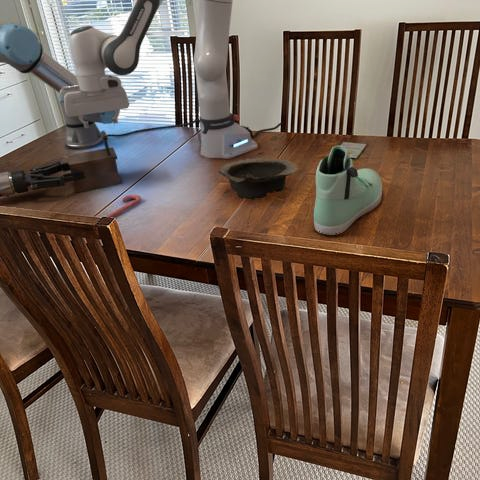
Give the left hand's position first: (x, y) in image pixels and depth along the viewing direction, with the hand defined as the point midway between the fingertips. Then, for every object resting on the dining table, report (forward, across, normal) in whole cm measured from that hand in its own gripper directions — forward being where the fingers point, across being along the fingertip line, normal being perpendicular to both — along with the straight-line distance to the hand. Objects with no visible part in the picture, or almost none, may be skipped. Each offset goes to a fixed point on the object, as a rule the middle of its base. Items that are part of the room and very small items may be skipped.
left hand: (82, 169), depth 164 cm
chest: (+4, 0, -6) cm, 7 cm away
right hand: (+9, 0, +14) cm, 17 cm away
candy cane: (+9, +25, -6) cm, 27 cm away
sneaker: (+69, +57, -6) cm, 90 cm away
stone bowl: (+51, +32, -6) cm, 61 cm away
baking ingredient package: (+94, +18, -6) cm, 96 cm away
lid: (+4, 0, +3) cm, 5 cm away
